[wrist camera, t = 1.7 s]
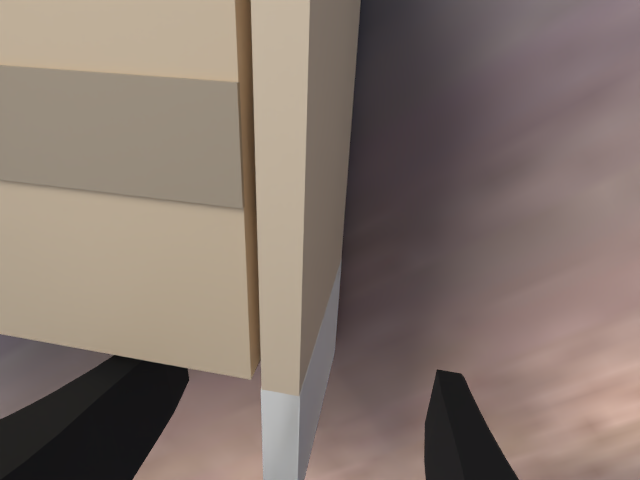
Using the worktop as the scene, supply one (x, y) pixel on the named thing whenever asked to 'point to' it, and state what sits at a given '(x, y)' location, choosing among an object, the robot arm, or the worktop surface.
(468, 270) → the worktop surface
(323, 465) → the worktop surface
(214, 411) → the worktop surface
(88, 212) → the carton
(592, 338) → the worktop surface
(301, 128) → the beige rectangular panel
